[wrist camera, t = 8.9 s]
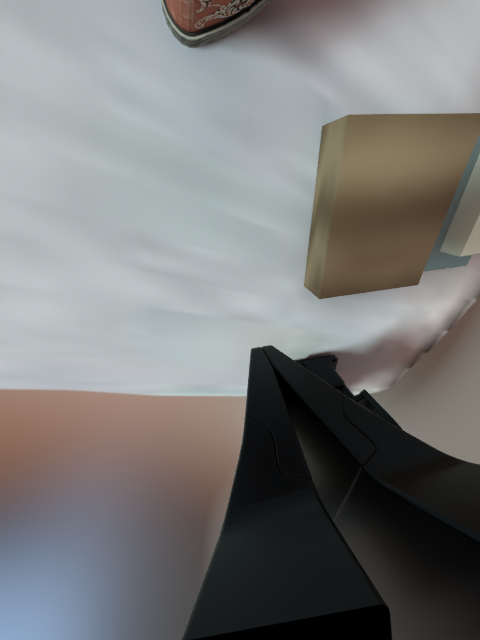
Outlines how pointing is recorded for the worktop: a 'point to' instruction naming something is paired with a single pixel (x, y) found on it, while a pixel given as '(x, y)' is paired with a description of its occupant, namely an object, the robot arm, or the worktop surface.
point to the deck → (383, 198)
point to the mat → (440, 258)
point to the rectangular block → (466, 220)
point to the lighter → (207, 18)
